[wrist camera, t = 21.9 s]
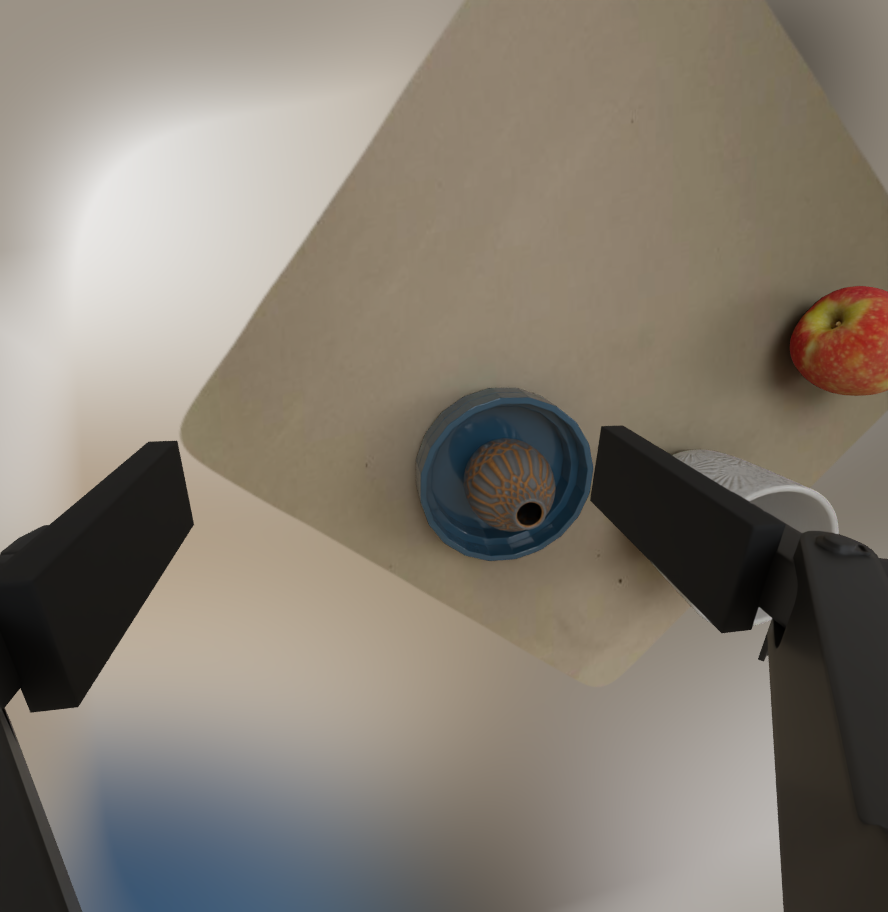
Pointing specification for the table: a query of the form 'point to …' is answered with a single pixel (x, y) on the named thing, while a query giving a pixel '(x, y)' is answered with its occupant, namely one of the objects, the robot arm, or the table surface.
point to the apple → (844, 342)
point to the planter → (763, 497)
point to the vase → (509, 485)
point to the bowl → (478, 425)
